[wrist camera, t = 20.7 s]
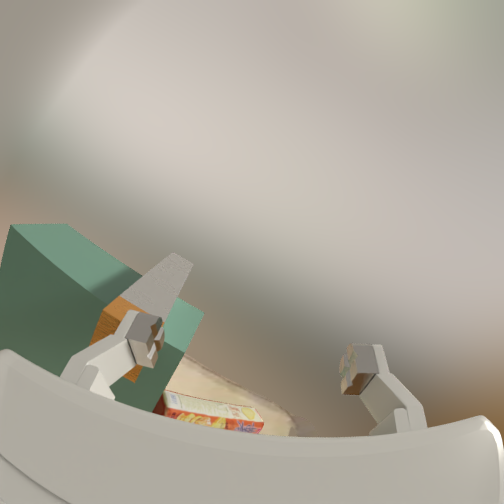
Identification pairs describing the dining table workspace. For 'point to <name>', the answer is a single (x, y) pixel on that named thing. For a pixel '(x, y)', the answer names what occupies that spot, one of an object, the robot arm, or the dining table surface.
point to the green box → (76, 306)
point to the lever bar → (145, 299)
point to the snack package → (209, 412)
